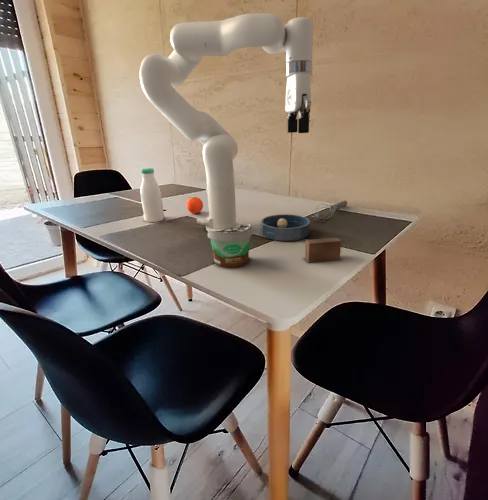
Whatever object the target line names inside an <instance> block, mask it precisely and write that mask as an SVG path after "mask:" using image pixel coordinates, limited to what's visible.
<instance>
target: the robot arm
mask: <svg viewBox="0 0 488 500" xmlns="http://www.w3.org/2000/svg"><path fill="white" fill-rule="evenodd" d="M313 38H314V23H313V21H312V19H311V18H310V17H306V16H305V17H304V16H300V17H299V16H298V17H294V18H291V19H289V20H288V21H287V22H286V23H285V24H284V21H283V20H282V18H281V17H280V16H278V15H277V14H274V13H270V12H261V13H259V12H257V13H245V14H240V15H236V16H233V17H229V18H225V19H223V20H208V21H207V20H206V21H188V22H187V21H185V22H179V23H176V24H175V25H174V26H172V28H171V29H170V33H169V41H170V44H171V47H172V49H173V50H172V52H171V53H170V54H169V55H168V56H165V55H162V54H160V53H150V54H147V55H146V56H145V57H144V58H143V59H142V61H141V63H140V65H139V66H140V67H139V81H140V86H141V89H142V91H143V93H144V95H145V96H146V98H147V100H148V101H149V102H150V104H151V105H152V106H154V107H155V109H156V110H158V112H160V113H161V115H162V116H163V117H165V119H166V120H167V121H168V122H169V123H170V124H171V125H173V127H174V128H175V129H177V130H178V131H179V132H180V134H181V135H182V136H184V138H186V139H187V140H188V141H190V142H194V143H196V142H197V143H200V144H201V145H202V146H203V147H202V160H203V165H204V171H205V179H206V191H207V192H206V193H207V204H208V214H207V217H205V218H196V224H197V225H200V226H205V230H206V232H208V231H209V229H210V230H212V231H220V230H224V229H227V228H241V227H242V225H241V223H240V222H239V221H237V206H236V205H237V204H236V184H235V183H236V182H235V170H234V162H233V160H234V159H235V158H236V156H237V155H238V149H239V148H238V144H237V143H238V142H237V141H236V140H235V138H234V136H232V135H231V134H230V133H229V132H228V131H227V130H226V129H225V128H224V127H223V126H222V125H221V124H220V123H219V122H218V121H217V120H215V118H214V117H213V116H212V115H210V114H209V113H207V112H205V111H201V110H197V109H196V108H195V107H194V106H193V105H192V104H191V103H190V102H188V100H186V98H185V97H184V96H183V95H181V93H179V92H178V91H177V88H179V87H180V86H182V84H184V83H185V81H186V80H187V79H188V78H189V76H191V74H192V73H193V72H194V70H195V69H196V68H197V67H198V66H199V64H200V63H201V61H202V60H203V58H204V57H225V56H228V55H230V54H232V53H233V52H234V51H236V50H238V49H239V50H240V49H245V48H256V47H257V48H262V50H263V51H264V52H265V53H268V54H269V55H277V54H280V53H284V52H285V77H286V85H285V99H284V100H285V102H284V111H285V113H286V114H287V133H288V134H290V133H293V134H294V133H298V134H308V133H309V132H310V117H311V115H310V113H311V105H312V100H311V97H312V96H311V94H312V93H311V76H312V73H313V46H314V45H313V43H314V42H313V41H314V39H313ZM298 117H299V118H298Z"/></svg>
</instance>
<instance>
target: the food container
mask: <svg viewBox="0 0 488 500" xmlns="http://www.w3.org/2000/svg"><path fill="white" fill-rule="evenodd" d="M253 233H254V232H253V227H252V225H251V223H248V225H247V226H243V227H242V226H241V228H227V229H224V230H220V231H212V230H210V229H209V231H207V238H208V239H209V240H210V244H211V249H212V250H211V251H212V255H213V261H214V264H215V265H216V266H218V267H220V268H225V269H234V268H235V269H236V268H240V267H243V266H245V265H247V264H248V263H249V257H250V256H249V255H250V241H251V236H252V235H253Z"/></svg>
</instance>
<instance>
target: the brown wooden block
mask: <svg viewBox="0 0 488 500" xmlns="http://www.w3.org/2000/svg"><path fill="white" fill-rule="evenodd" d="M341 249H342V240H341V239H340V238H338V237H328V238H327V237H326V238H315V239H314V238H313V239H306V240H305V252H304V254H305V256H304V259H305V261H307V263H319V262H329V261H330V262H331V261H340V259H341Z"/></svg>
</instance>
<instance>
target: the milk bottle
mask: <svg viewBox="0 0 488 500" xmlns="http://www.w3.org/2000/svg"><path fill="white" fill-rule="evenodd" d="M140 173H141V176H142V179H141V180H142V181H141V185H140V189H139V192H140V202H141V209H142V214H143V220H144V221H145V222H147V223H157V222H160V221H164V220H165V213H164V205H163V198H162V191H161V187H160V185H159V183H158V182H157V180H156V178H155V169H154V168H153V167H145V168H141V169H140Z"/></svg>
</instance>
